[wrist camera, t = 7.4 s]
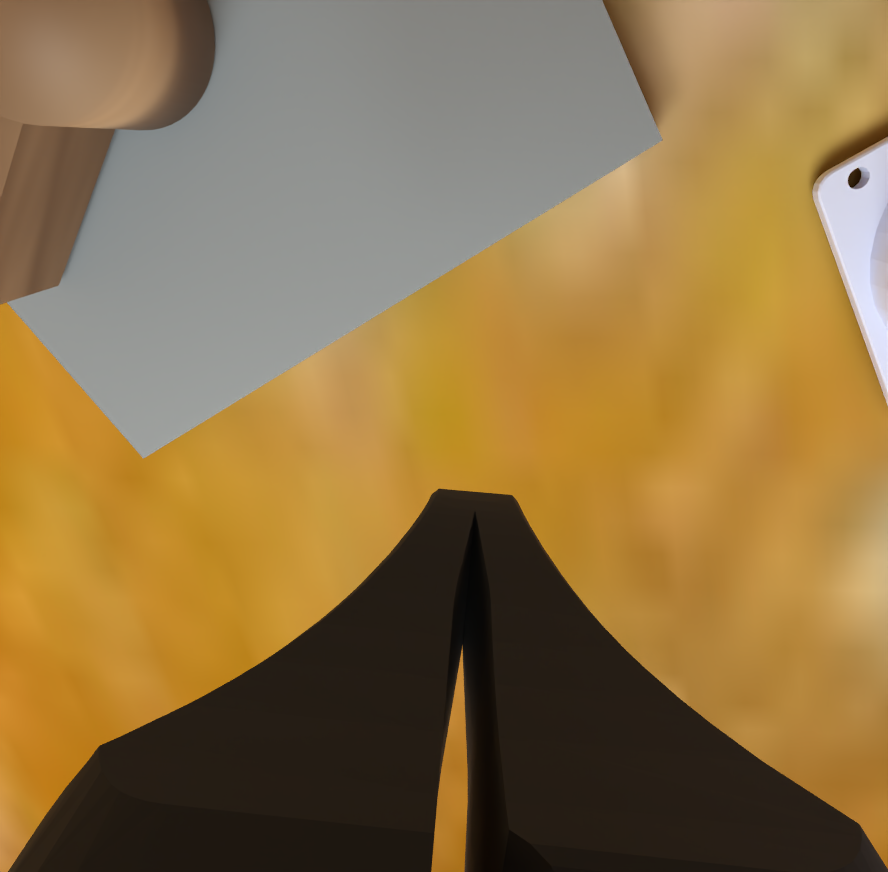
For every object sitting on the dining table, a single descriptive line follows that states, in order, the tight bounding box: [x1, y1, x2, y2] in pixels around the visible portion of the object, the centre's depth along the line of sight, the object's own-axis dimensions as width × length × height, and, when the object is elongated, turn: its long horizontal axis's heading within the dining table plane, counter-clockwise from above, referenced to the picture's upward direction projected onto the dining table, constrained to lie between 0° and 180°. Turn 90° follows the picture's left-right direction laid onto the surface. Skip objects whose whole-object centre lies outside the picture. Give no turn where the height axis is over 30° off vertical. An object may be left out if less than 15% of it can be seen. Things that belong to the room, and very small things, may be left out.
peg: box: [0, 0, 215, 304], centre depth 14 cm, size 4×12×5 cm, turn 147°
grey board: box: [7, 0, 662, 458], centre depth 16 cm, size 18×16×1 cm
